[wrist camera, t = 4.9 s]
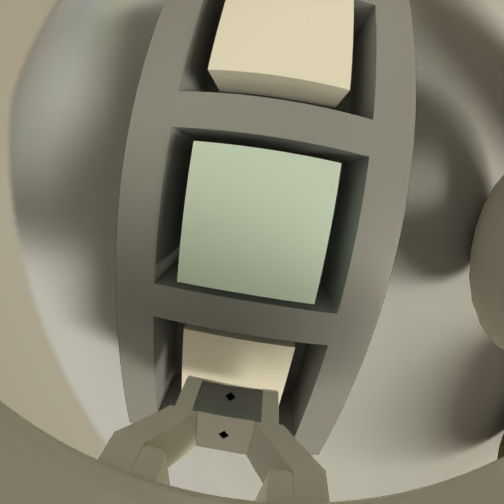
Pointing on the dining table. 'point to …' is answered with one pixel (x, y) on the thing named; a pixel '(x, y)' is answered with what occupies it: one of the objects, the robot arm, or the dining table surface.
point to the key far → (236, 358)
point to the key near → (285, 49)
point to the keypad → (279, 139)
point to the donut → (489, 265)
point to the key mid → (257, 221)
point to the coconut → (501, 449)
